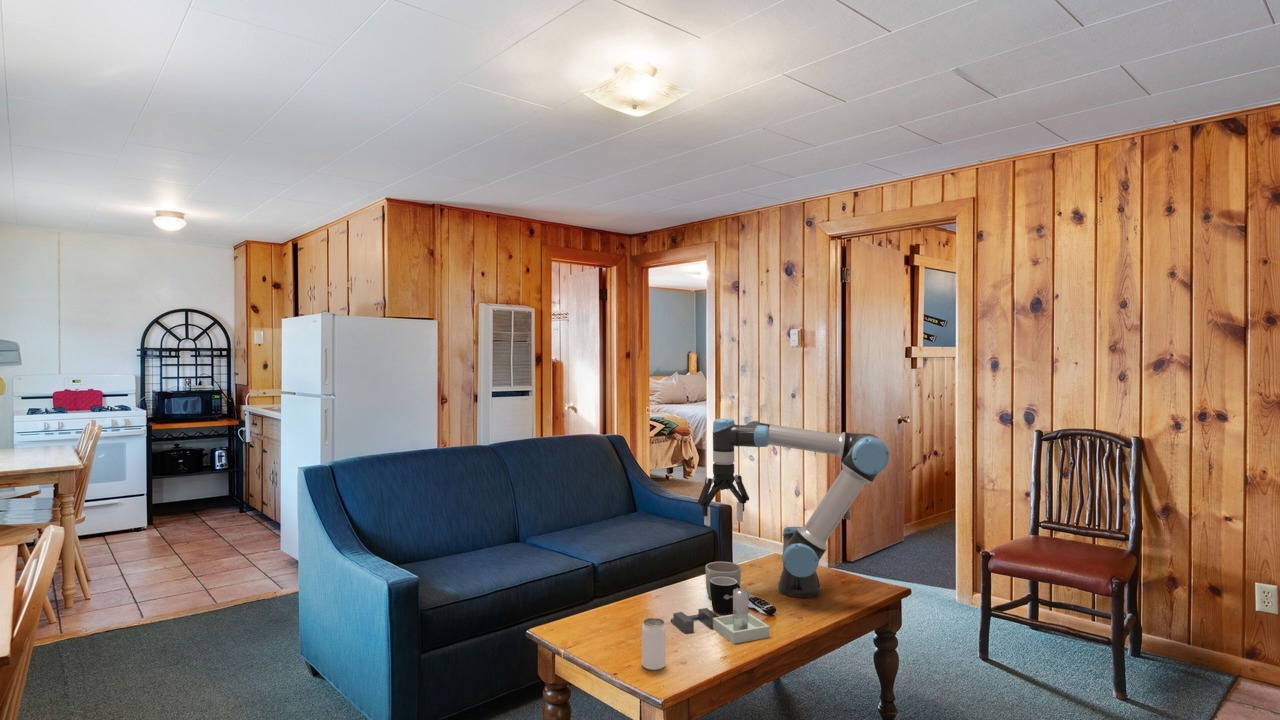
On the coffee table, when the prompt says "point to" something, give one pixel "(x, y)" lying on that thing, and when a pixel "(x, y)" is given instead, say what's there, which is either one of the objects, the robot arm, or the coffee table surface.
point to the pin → (740, 609)
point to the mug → (722, 594)
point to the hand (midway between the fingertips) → (723, 523)
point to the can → (653, 644)
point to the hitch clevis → (687, 622)
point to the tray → (752, 633)
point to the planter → (722, 572)
